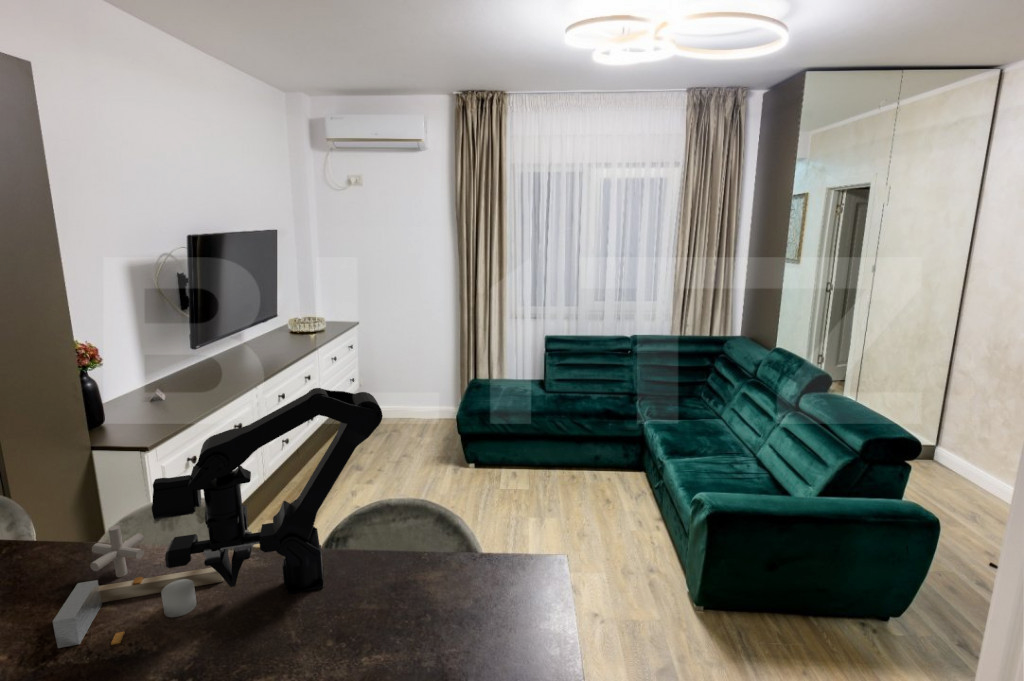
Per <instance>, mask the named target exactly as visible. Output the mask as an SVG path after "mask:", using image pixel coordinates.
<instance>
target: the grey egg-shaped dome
mask: <svg viewBox="0 0 1024 681" xmlns="http://www.w3.org/2000/svg"><path fill="white" fill-rule="evenodd" d="M160 594H161V601H162V606H163V613H164V615H165V617H168V618H178V617H181V616H185V615H186V614H189V613H190V612H192V611H193V610H194V609H195V608H196V606H197V596H196V590H195V587H194V582H193V581H192V580H189V579H182V580H177V581H174V582H172V583H170V584H168V585H167V586H165V587H164V588H163V589H162V591H161V592H160Z"/></svg>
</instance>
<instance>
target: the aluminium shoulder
mask: <svg viewBox="0 0 1024 681" xmlns="http://www.w3.org/2000/svg"><path fill="white" fill-rule="evenodd" d="M99 586H100V585H99V580H98V579H97V580H90V581H84V582H78V583H77V584H76V585H75V587H74V589H73V590H72V591H71V593H70V594H69V596H68V597H67V599H66V600H65V602H64V603H63V605H62V606H61V608H60V609H59V611H58V613H57V614H56V616H55V617H54V618H53V620H52V626H53V631H54V636H55V641H56V645H57V649H61V648H66V647H67V648H68V647H72V646H77V645H81V643H82V642H83V640H84V638H85V635H87V632H88V630H89V629H90V628H91V625H92V623H93V621H94V620H95V618H96V616H97V615H98V613H99V611H100V609H101V608H102V606H103V602H101V596H100V590H99Z"/></svg>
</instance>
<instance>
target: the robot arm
mask: <svg viewBox="0 0 1024 681" xmlns="http://www.w3.org/2000/svg"><path fill="white" fill-rule="evenodd" d="M318 416H322V417H326V418H329V419H331V420H334V421H337V422H339V425H338V427H337V428H338V429H337V431H336V432H337V433H336V434H335V436H334V437H333V439H332V440H331V442H330V445H329V446H328V447H327V448H326V451H325V453H324V454H323V455H322V457H321V458H320V461H319V462H318V464H317V466H316V468H315V469H314V471H313V473H312V474H311V475H310V477H309V479H308V480H307V483H306V484H305V486H304V488H303V489H302V491H301V493H300V494H299V495H298V496H297V498H296V499H295V500H293V501H292V502H288V501H287V500H283V501H282V503H281V506H280V509H279V511H278V512H277V513H276V514H275V515H274V516H273V517H272V522H270V523H269V522H268V523H263V524H261V527H260V528H261V529H260V531H257V532H252V531H247V530H248V527H249V525H248V521H249V520H248V519H249V518H248V505H247V504H245V505H243V498H242V492H241V491H242V490H241V485H242V484H247V483H250V482H251V478H252V477H251V476H252V472H251V471H250V470H248V469H245V468H244V467H243V466H242V465H243V464H244V463H245V462H246V461H247V460H248V459H249V458H250V457H251V456H252V455H253V454H254V453H255V452H256V451H258V450H259V449H260V448H262V447H263V446H265V445H268V444H269V443H271V442H272V441H274V440H277V439H278V438H280V437H282V436H283V435H285V434H287V433H289V432H290V431H292V430H294V429H296V428H297V427H300V426H302V425H303V424H305V423H306V422H309V421H310V420H312V419H314V418H317V417H318ZM382 420H383V411H382V408H381V407H380V404H379V403H378V401H377V400H376V398H375V397H374V395H373V394H371V393H369V392H366V391H359V392H356V393H353V392H349V391H343V390H342V391H341V390H329V389H326V388H325V389H324V388H320V387H315V388H312V389H310V390H309V391H308V392H307V393H305V394H303V395H301V396H299V397H297V398H295V399H294V400H292V401H290V402H287V404H285V405H283V406H281V407H279V408H278V409H276V410H274V411H272V412H269V413H267V414H266V415H264V416H263V417H260V418H259V419H257V420H255V421H254V422H251V423H249V424H247V425H245V426H241V427H236V428H230V429H228V430H226V431H225V430H224V431H221V432H218V433H216V434H213V435H211V436H210V437H208V438H206V439H205V441H204V442H203V443H202V446H201V449H200V453H199V456H198V460H197V462H196V463H195V465H194V466H192V470H191V472H190V473H191V474H185V475H182V476H181V475H179V476H173V477H158V478H155V479H154V481H153V483H152V489H153V490H152V491H153V492H152V505H151V513H152V518H153V519H154V521H160V520H165V519H171V518H177V517H182V516H188V515H194V513H196V511H197V510H196V508H200V507H201V506H202V490H203V498H204V505H205V509H204V510H205V511H204V520H205V521H204V522H205V525H206V528H207V531H208V537H209V538H208V539H206V540H204V539H203V540H199V537H198V535H197V533H196V534H195V533H194V534H188V535H181V536H175V537H173V539H172V540H171V541H170V543H169V545H168V548H166V549H167V550H166V551H165V554H164V555H165V556H164V559H165V560H164V561H165V567H166V568H168V569H172V568H179V567H184V566H186V567H187V566H188V564H189V563H190V562H191V560H192V555H194V554H201V553H203V555H204V558H205V559H204V562H203V563H204V566H205V567H210V568H211V567H213V568H214V569H215V570H216V571H217V572H218V573H219V574H220V575H221V576H222V577H223V578H224V580H223V581H225V582H226V584H227V585H228V586H229V587H230V588H233V587H236V585H237V581H238V577H239V572H240V570H241V567H242V565H243V563H244V561H246V560H247V561H248V560H249V559H250V558H251V555H252V551H253V546H255V545H259V550H260V551H262V552H263V553H265V554H266V553H271V552H276V553H277V554H278V555H280V556H282V557H284V559H283V561H282V575H283V576H282V577H283V585H284V586H285V587H286V594H287V595H292V594H297V593H303V592H308V591H314V590H320V589H323V588H324V585H325V582H324V578H325V577H324V576H325V575H324V573H325V572H324V570H325V567H324V566H323V556H322V545H321V544H320V539H319V532H318V528H317V527H315V526H314V525H315V522H316V518H317V514H318V511H319V510H320V508H321V507H322V505H323V504H324V502H325V500H326V498H327V497H328V495H329V494H330V492H331V490H332V488H333V486H334V485H335V484H336V482H337V480H338V478H339V476H340V475H341V473H342V472H343V470H344V468H345V467H346V465H347V464H348V462H349V460H350V458H351V457H352V455H353V454H354V451H355V450H356V448H357V447H359V445H361V444H362V443H363V442H364V441H366V440H367V439H368V438H370V437H371V435H372V434H374V432H375V430H376V429H377V428H378V427H379V426H380V425H381V423H382ZM246 531H247V532H246ZM229 549H233V554H232V556H231V561H230V556H229Z"/></svg>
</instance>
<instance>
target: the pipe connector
mask: <svg viewBox="0 0 1024 681" xmlns="http://www.w3.org/2000/svg"><path fill="white" fill-rule="evenodd" d="M108 534H109V536H108V537H109V541H110V544H108V543H102V542H101V543H100V542H99V543H98V542H96V543H95V544H93V545H92V547H91V552H92V553H94V554H97V555H98V554H99V555H102V556H100V557H98V558H97V559H96V560H93V561H92V562H91V563H90V564H89V565H90V569H91V570H92V571H94V572H98V571H99V570H101V569H103V568H104V567H106V565H109V564H110V563H112V562H113V565H114V571H115V576H116V578H122V577H125V576H126V575H127V574H128V568H127V563H126V562H127V561H126V558H128V559H134V560H140V559H142V557H143V556H144V555H145V554H144V549H142V548H135V546H137V545H139V544H140V543H142V542H143V541H144V536H143V535H142V533H139V532H138V533H135V534H134V535H132V536H131V537H129V538H128V539H126V540H125V541H123V538H122V537H123V536H122V531H121V526H120V525H119V524H118V525H113V526H110V527H108Z"/></svg>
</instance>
